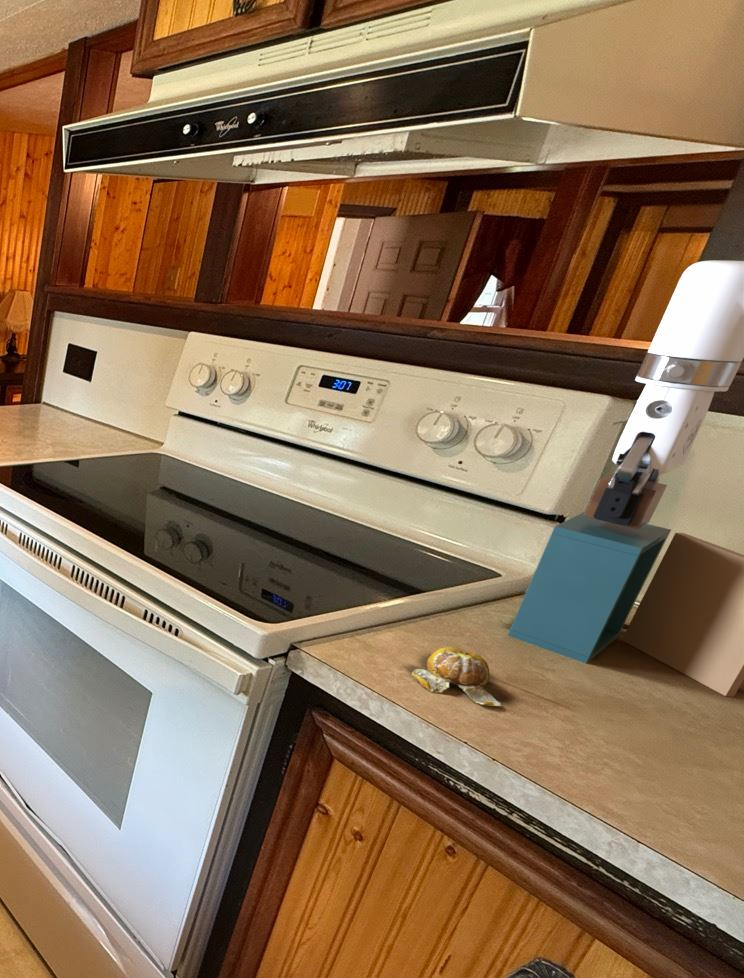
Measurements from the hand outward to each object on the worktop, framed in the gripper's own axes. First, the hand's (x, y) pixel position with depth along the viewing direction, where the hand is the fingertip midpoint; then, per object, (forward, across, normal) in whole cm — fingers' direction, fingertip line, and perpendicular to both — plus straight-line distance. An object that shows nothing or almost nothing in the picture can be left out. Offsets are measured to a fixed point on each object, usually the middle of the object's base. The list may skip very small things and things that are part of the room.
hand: (617, 516), depth 91 cm
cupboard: (+18, 0, 0) cm, 18 cm away
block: (0, 0, 0) cm, 0 cm away
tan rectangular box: (+17, +6, -12) cm, 22 cm away
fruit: (+18, -28, +3) cm, 33 cm away
